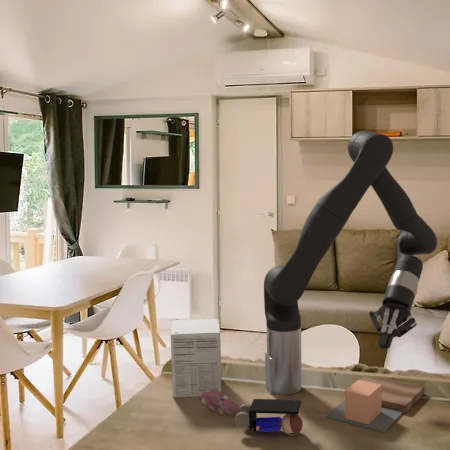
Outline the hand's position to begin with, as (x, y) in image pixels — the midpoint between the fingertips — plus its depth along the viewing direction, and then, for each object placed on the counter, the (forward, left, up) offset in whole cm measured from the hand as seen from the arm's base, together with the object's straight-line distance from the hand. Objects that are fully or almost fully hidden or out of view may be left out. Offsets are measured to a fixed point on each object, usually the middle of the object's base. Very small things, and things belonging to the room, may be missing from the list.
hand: (383, 348), depth 164 cm
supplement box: (-46, +18, -14) cm, 51 cm away
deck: (+1, +1, -13) cm, 14 cm away
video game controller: (-42, +2, -14) cm, 45 cm away
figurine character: (-33, -12, -14) cm, 38 cm away
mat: (-8, -8, -13) cm, 18 cm away
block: (-6, -6, -10) cm, 13 cm away
